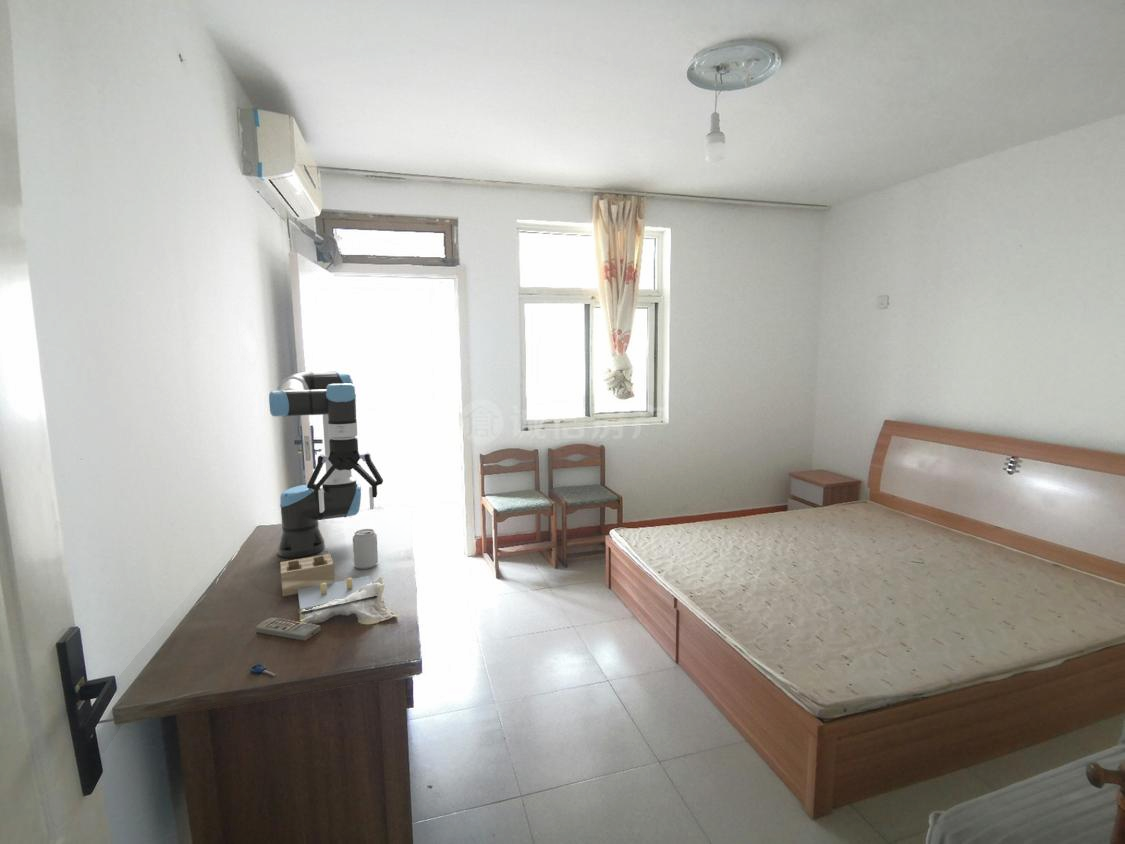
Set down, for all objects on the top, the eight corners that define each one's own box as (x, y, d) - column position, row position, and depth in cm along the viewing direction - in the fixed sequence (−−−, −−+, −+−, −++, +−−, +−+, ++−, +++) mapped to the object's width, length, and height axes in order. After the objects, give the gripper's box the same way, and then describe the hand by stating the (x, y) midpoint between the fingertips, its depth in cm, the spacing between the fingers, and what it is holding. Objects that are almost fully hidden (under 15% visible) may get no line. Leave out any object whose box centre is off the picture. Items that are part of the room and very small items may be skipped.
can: (370, 571, 170) (368, 535, 168) (349, 569, 171) (347, 534, 170) (382, 562, 177) (380, 528, 175) (362, 560, 178) (360, 527, 177)
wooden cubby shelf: (281, 583, 160) (280, 562, 159) (331, 574, 167) (330, 553, 166) (282, 596, 151) (281, 573, 151) (334, 586, 158) (333, 564, 157)
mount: (297, 593, 153) (297, 579, 153) (369, 579, 163) (368, 566, 163) (300, 613, 141) (299, 598, 141) (377, 596, 151) (376, 582, 150)
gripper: (292, 441, 142) (297, 516, 144) (387, 438, 148) (391, 510, 150) (299, 437, 149) (304, 509, 152) (390, 434, 155) (393, 503, 157)
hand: (347, 509), depth 151 cm, fingers open, 13 cm apart
